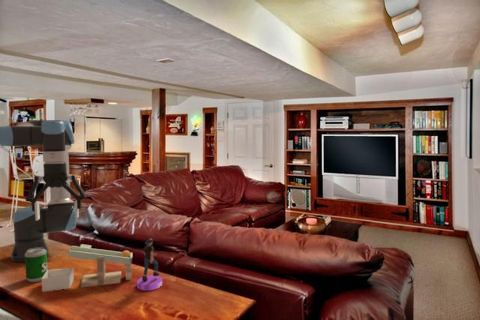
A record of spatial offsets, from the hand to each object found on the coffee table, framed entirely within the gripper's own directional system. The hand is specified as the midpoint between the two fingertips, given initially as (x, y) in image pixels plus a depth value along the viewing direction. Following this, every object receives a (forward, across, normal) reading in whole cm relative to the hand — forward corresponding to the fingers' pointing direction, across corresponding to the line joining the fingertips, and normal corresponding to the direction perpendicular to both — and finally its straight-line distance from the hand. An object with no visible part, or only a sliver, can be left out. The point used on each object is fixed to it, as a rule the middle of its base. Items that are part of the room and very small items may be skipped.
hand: (57, 218), depth 134 cm
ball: (+16, +24, 0) cm, 29 cm away
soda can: (+26, -10, +7) cm, 29 cm away
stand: (+26, +17, -1) cm, 31 cm away
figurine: (+26, +33, -9) cm, 43 cm away
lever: (+17, +15, +3) cm, 23 cm away
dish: (+26, -1, -2) cm, 26 cm away
